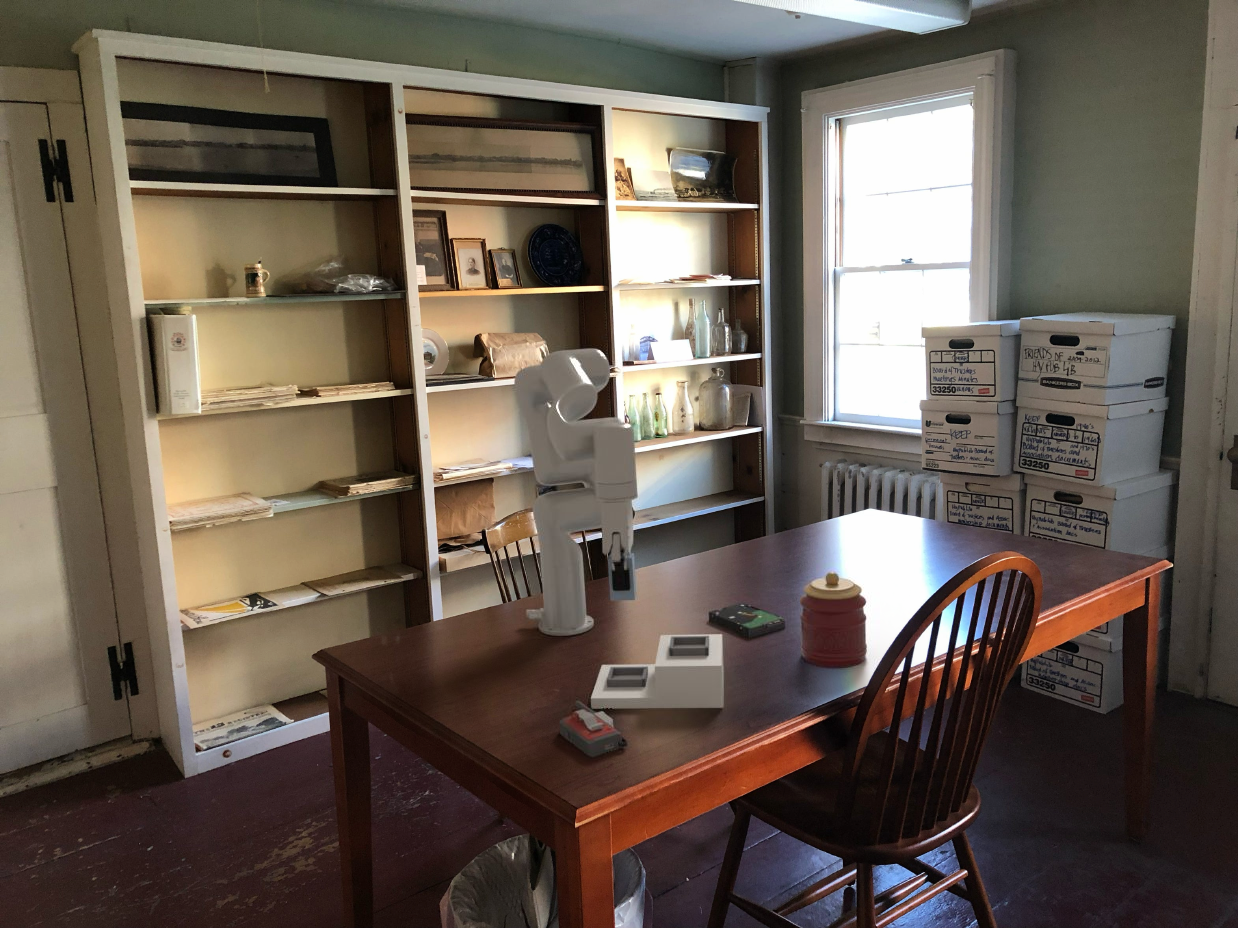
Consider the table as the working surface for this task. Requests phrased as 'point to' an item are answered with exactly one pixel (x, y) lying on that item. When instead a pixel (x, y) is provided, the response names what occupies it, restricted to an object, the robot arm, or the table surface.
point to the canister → (833, 622)
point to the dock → (667, 677)
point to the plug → (632, 592)
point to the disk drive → (746, 620)
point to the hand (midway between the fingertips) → (622, 585)
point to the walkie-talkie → (591, 731)
